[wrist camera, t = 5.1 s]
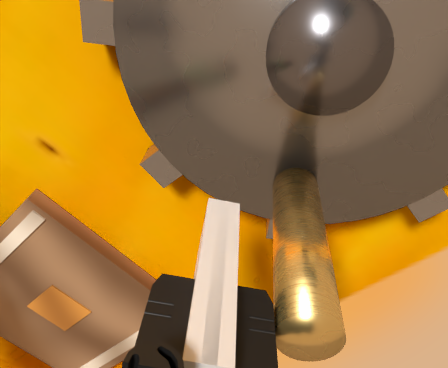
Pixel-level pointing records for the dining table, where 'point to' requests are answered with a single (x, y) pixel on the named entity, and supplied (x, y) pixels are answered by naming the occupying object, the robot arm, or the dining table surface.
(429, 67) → the sprocket
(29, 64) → the dining table surface
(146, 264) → the dining table surface
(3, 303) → the pad
